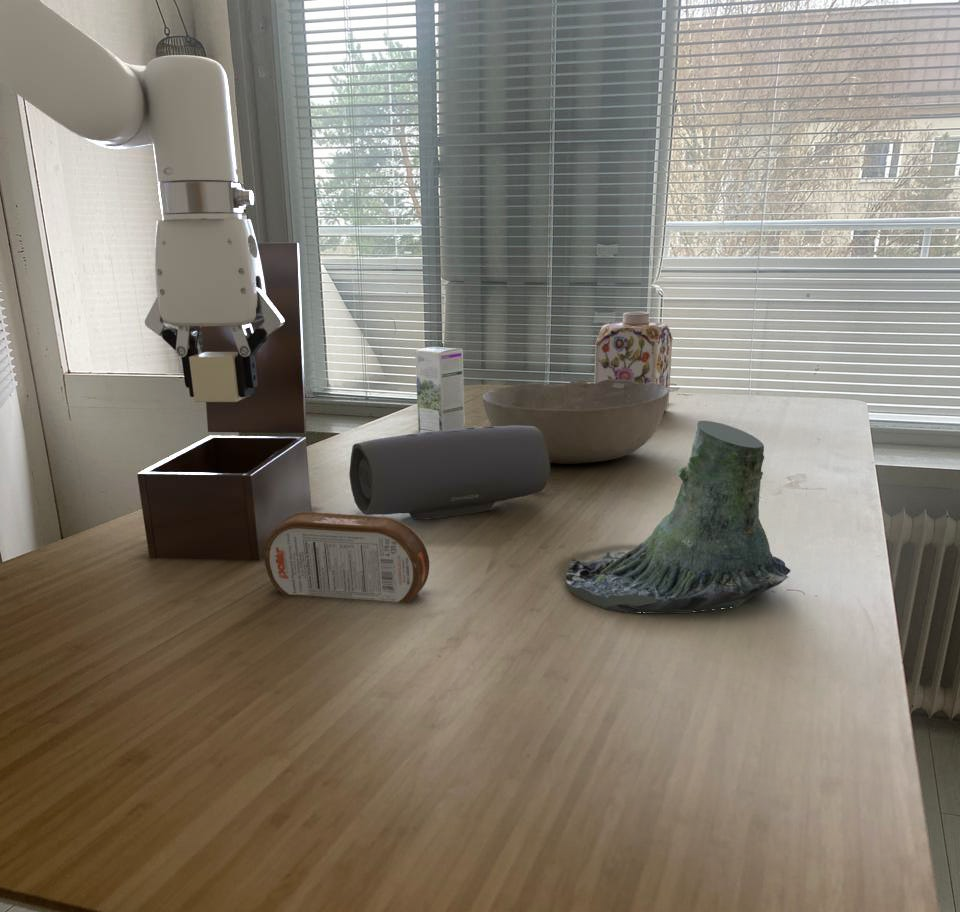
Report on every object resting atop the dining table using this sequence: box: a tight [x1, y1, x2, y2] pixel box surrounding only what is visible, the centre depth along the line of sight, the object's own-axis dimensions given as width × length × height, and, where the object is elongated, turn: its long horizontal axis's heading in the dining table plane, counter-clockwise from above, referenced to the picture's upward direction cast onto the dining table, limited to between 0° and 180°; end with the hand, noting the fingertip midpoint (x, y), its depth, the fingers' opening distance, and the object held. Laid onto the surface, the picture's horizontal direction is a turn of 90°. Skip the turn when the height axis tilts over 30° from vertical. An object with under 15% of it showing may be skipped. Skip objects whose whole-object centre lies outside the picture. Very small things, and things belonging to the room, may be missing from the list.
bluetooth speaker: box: [348, 425, 551, 520], centre depth 117 cm, size 23×9×10 cm, turn 115°
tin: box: [263, 511, 430, 604], centre depth 87 cm, size 15×3×8 cm, turn 77°
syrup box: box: [414, 346, 466, 433], centre depth 159 cm, size 6×6×14 cm
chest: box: [136, 435, 313, 561], centre depth 106 cm, size 20×12×10 cm, turn 174°
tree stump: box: [565, 420, 792, 614], centre depth 90 cm, size 18×20×18 cm
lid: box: [200, 242, 307, 434], centre depth 113 cm, size 20×12×5 cm
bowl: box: [481, 379, 670, 465], centre depth 146 cm, size 28×28×10 cm
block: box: [189, 352, 250, 403], centre depth 101 cm, size 4×4×4 cm
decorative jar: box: [593, 311, 674, 412], centre depth 180 cm, size 12×12×18 cm
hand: (222, 393), depth 102 cm, fingers closed on block, 4 cm apart
